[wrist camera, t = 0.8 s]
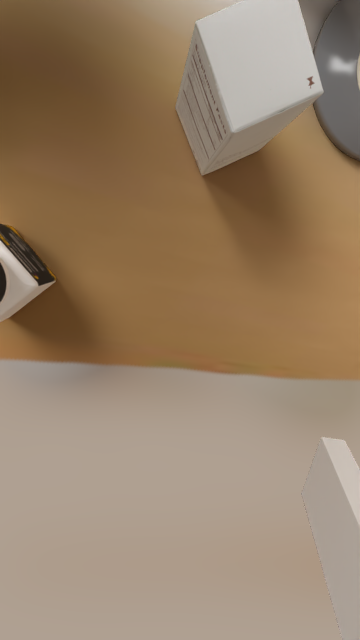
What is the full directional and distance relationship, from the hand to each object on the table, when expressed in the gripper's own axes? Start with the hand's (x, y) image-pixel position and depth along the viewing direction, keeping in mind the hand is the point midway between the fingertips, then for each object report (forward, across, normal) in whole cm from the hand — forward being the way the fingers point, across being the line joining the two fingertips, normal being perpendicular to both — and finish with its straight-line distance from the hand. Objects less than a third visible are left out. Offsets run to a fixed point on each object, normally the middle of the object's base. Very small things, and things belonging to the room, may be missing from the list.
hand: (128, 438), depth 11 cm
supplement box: (+31, +2, +14) cm, 34 cm away
